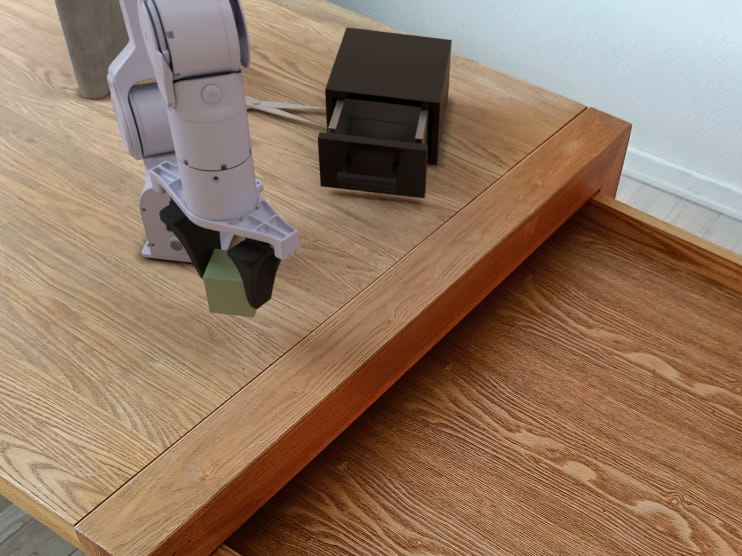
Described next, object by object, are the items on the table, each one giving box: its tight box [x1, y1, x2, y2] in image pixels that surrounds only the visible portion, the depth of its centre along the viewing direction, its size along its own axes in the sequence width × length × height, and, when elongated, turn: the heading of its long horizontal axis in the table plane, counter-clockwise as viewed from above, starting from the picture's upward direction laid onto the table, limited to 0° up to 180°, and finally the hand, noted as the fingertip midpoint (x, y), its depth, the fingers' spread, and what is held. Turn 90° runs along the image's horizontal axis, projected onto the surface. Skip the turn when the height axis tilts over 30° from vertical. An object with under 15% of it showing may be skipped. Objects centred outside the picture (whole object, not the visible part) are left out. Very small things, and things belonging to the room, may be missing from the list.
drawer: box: [317, 98, 432, 199], centre depth 97 cm, size 18×11×6 cm, turn 176°
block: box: [202, 249, 258, 318], centre depth 78 cm, size 4×4×4 cm
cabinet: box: [324, 26, 453, 166], centre depth 103 cm, size 15×13×8 cm
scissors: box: [245, 95, 326, 127], centre depth 105 cm, size 11×1×20 cm
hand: (236, 288), depth 79 cm, fingers closed on block, 5 cm apart
